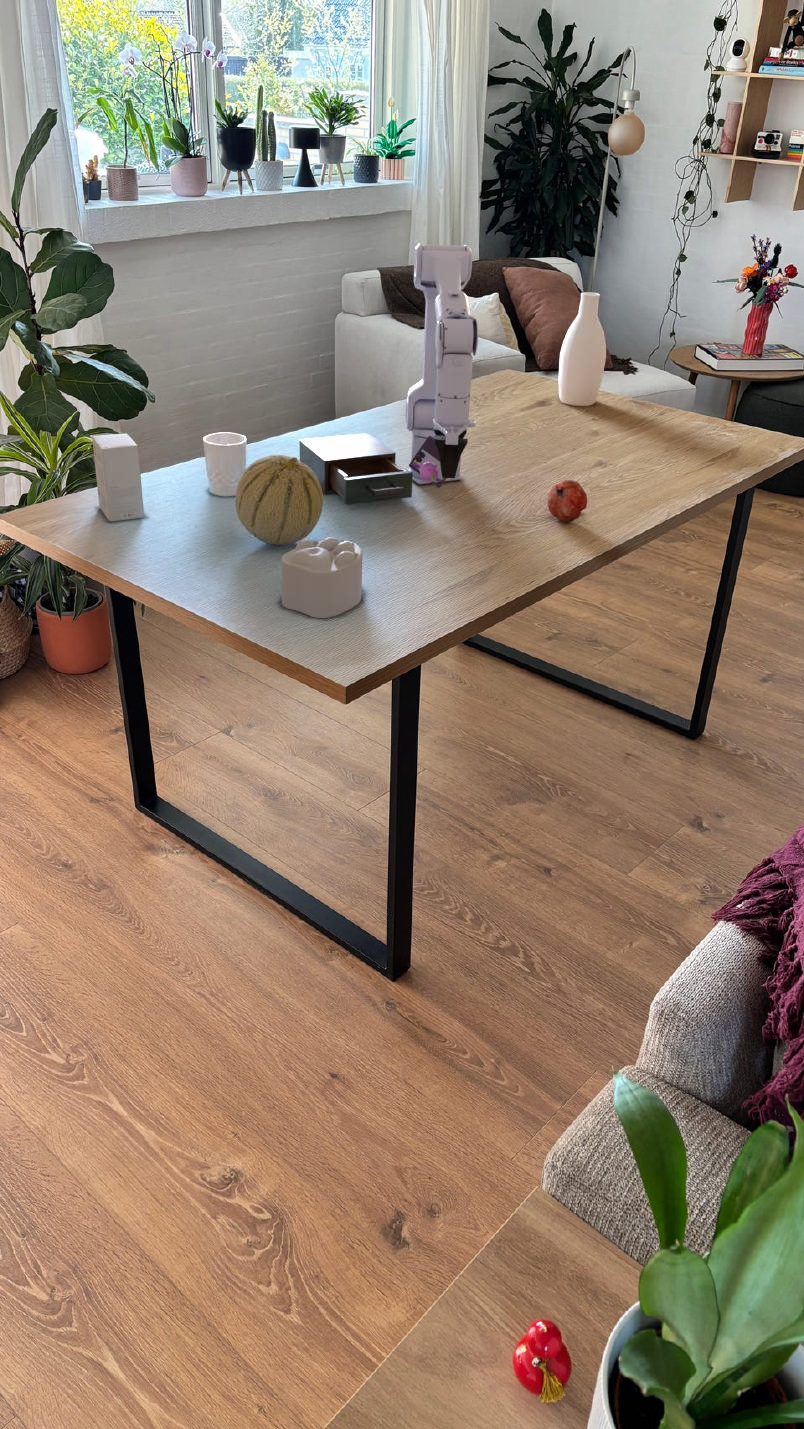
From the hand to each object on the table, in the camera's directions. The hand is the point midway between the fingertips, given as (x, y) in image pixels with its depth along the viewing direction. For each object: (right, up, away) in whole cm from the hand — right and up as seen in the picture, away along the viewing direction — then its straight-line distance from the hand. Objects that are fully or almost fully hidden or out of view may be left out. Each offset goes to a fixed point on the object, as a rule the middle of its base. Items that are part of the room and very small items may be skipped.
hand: (448, 473), depth 187 cm
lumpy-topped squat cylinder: (-20, -24, -21) cm, 37 cm away
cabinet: (-19, +5, +27) cm, 33 cm away
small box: (-58, -6, +7) cm, 59 cm away
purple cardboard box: (-1, -1, +1) cm, 2 cm away
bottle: (+36, +36, +84) cm, 98 cm away
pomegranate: (+22, -6, +13) cm, 26 cm away
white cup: (-41, +1, +19) cm, 45 cm away
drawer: (-14, 0, +17) cm, 22 cm away
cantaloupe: (-29, -12, -2) cm, 31 cm away
